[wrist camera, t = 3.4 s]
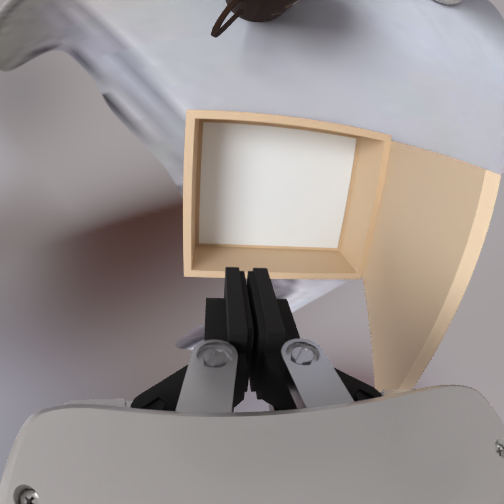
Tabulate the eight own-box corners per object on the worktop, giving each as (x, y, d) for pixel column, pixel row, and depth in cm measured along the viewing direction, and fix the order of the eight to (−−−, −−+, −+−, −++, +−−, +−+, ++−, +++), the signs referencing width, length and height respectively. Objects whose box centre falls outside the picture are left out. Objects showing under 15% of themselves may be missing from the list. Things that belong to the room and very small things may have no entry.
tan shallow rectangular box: (193, 111, 26) (186, 109, 21) (363, 130, 29) (391, 135, 23) (189, 248, 33) (184, 276, 27) (341, 253, 35) (361, 279, 30)
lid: (485, 169, 8) (503, 176, 7) (390, 140, 23) (399, 142, 23) (376, 421, 14) (390, 422, 14) (362, 275, 30) (370, 276, 29)
